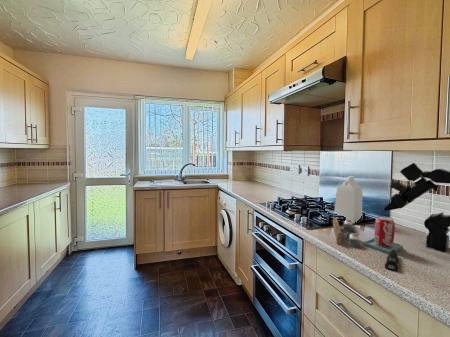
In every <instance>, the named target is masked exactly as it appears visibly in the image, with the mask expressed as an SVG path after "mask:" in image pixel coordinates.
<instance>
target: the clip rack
mask: <svg viewBox="0 0 450 337" xmlns="http://www.w3.org/2000/svg"><path fill="white" fill-rule="evenodd" d="M344 222H345V221H342V227H343V232H344V233H345V240H347V242H348V245H350V246H349V247H353V246H354V248H361V240H360V239H359V240H357V239H350V234H351V233H355V232H356V227H355V226H354V224H352V225H350V224H344ZM332 227H333V231H334V232H333V233H334V237H335V241H336V244H337V245H340V244H341V245H342V231H341V227H340V224H339V220H337V217H334V216H333V221H332ZM355 234H357V235H358V236H359V237H360V235H359V233H355ZM349 239H350V243H349Z"/></svg>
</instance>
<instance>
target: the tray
mask: <svg viewBox="0 0 450 337" xmlns="http://www.w3.org/2000/svg"><path fill="white" fill-rule="evenodd" d="M362 246H364V247H367V248H369V249H373V250H376V251H378V252H382V253H385V254H388V255H389V253H390V251H391V250H395V251H396V253H398V252H400V251H401V250H403V249H404V245H403V244H400V243H397V242H393V246H391V247H389V248H385V247H381V246H378V245H377V244H376V243H375V242H374V237H373V238H370V239H367V240H365V241H362Z"/></svg>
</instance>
